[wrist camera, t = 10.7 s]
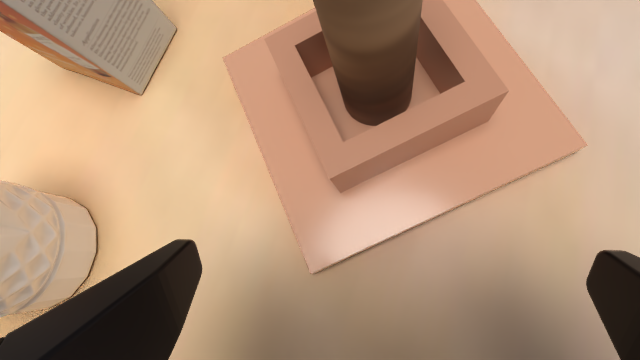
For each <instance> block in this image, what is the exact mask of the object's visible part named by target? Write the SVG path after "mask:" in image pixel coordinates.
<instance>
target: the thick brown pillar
mask: <svg viewBox="0 0 640 360" xmlns="http://www.w3.org/2000/svg"><path fill="white" fill-rule="evenodd" d="M313 2H314V5H315V8H316V12H317V15H318V18H319V22H320V25H321V28H322V32H323V35H324V38H325V42H326V45H327V48H328V52H329V55H330V58H331V62H332V65H333V68H334V72H335V75H336V78H337V82H338V85H339V88H340V92H341V95H342V98H343V102H344V105H345V108H346V110H347V112H348V113H349V114H350V116H351V117H352V118H354V119H355V120H356V121H358V122H360V123H362V124H365V125H370V126H377V125H379V124H381V123H383V122H385V121H387V120H389V119H391V118H393V117H395V116H397V115H399V114H401V113H403V112H405V111H406V110H407V108H408V106H409V104H410V101H411V97H412V89H413V80H414V71H415V63H416V54H417V45H418V37H419V28H420V19H421V11H422V2H423V0H313Z"/></svg>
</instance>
